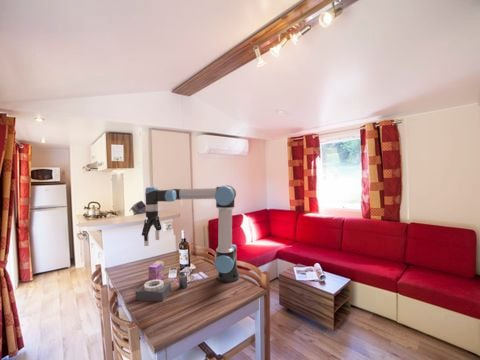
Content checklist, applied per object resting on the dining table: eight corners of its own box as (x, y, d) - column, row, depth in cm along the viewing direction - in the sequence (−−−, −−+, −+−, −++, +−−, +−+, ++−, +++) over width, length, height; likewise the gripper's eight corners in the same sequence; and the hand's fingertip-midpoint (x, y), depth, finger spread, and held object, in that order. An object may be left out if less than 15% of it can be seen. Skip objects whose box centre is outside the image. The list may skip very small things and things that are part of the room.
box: (156, 285, 148) (155, 267, 148) (148, 284, 149) (148, 266, 149) (164, 278, 158) (164, 261, 158) (157, 277, 159) (156, 260, 159)
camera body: (171, 290, 140) (170, 279, 140) (162, 301, 128) (162, 288, 128) (146, 289, 142) (146, 278, 142) (135, 300, 130) (135, 287, 130)
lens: (188, 285, 147) (188, 271, 147) (185, 289, 142) (185, 274, 142) (180, 285, 148) (180, 271, 147) (177, 289, 142) (177, 274, 142)
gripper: (156, 208, 162) (156, 237, 162) (135, 213, 137) (135, 248, 137) (166, 208, 161) (166, 237, 161) (146, 213, 136) (147, 248, 136)
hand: (152, 242), depth 149 cm, fingers open, 13 cm apart
